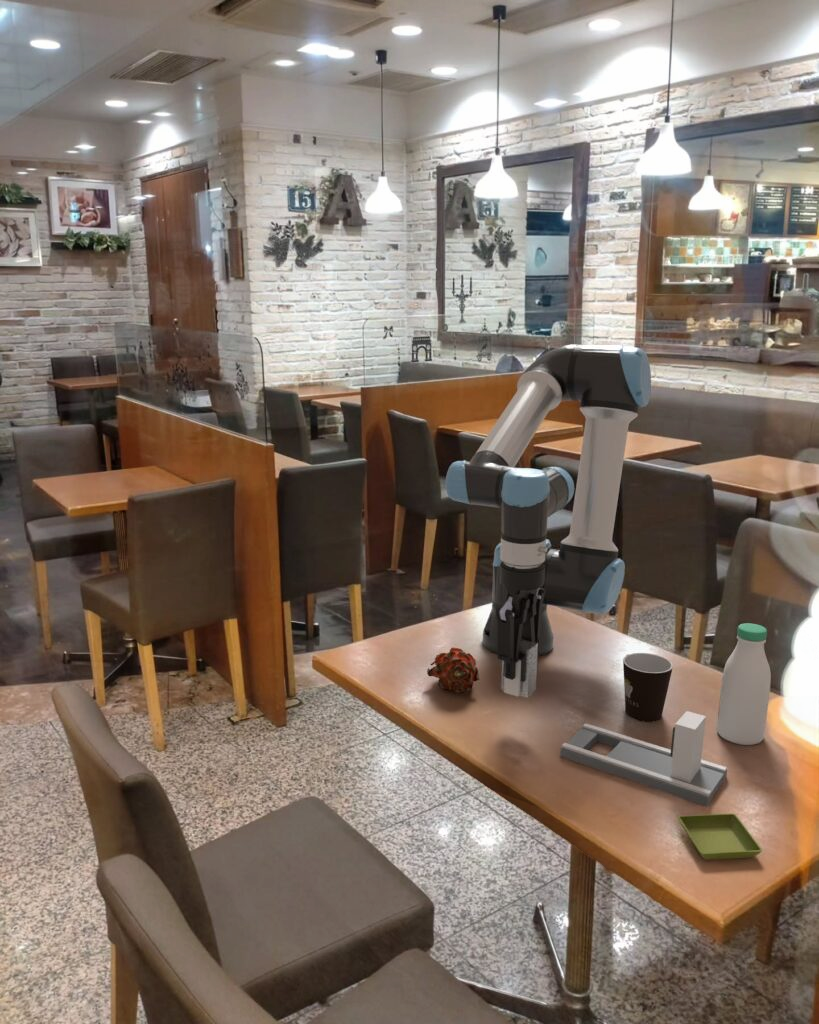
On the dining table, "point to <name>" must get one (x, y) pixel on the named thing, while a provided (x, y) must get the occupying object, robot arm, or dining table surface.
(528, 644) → the block
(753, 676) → the milk bottle
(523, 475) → the robot arm
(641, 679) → the coffee mug
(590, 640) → the dining table surface
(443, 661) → the dragon fruit
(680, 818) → the green square tray
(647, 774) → the rail
